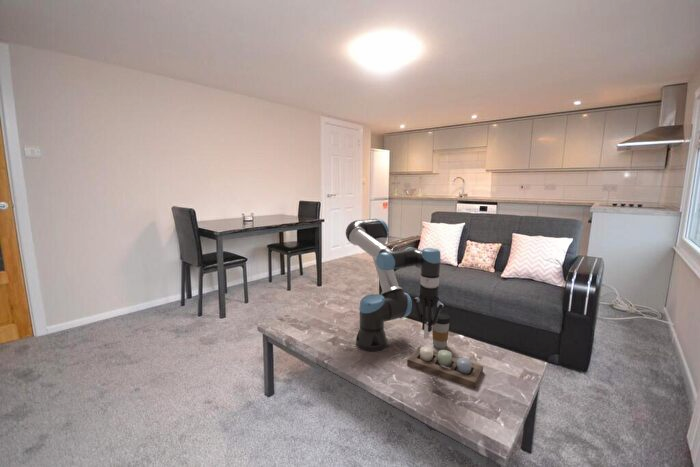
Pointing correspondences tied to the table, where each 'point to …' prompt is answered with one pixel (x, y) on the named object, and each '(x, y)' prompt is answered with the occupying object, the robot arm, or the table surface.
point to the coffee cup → (441, 331)
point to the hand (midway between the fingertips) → (426, 337)
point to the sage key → (444, 357)
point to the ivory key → (426, 354)
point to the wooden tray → (446, 369)
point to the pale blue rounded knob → (464, 366)
